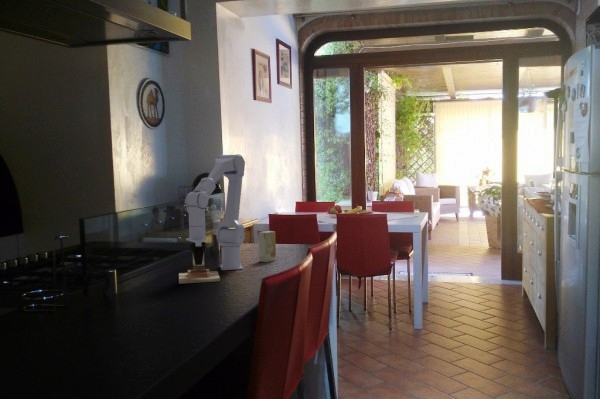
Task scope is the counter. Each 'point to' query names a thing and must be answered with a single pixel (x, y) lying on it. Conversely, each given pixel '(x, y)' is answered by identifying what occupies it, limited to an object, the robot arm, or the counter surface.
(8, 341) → the counter surface
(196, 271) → the holder
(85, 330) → the counter surface
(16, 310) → the counter surface
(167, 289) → the counter surface
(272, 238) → the skincare box
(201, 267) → the sleeve
